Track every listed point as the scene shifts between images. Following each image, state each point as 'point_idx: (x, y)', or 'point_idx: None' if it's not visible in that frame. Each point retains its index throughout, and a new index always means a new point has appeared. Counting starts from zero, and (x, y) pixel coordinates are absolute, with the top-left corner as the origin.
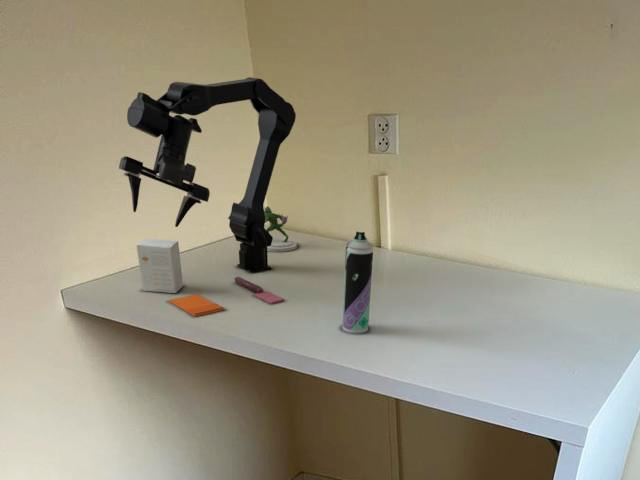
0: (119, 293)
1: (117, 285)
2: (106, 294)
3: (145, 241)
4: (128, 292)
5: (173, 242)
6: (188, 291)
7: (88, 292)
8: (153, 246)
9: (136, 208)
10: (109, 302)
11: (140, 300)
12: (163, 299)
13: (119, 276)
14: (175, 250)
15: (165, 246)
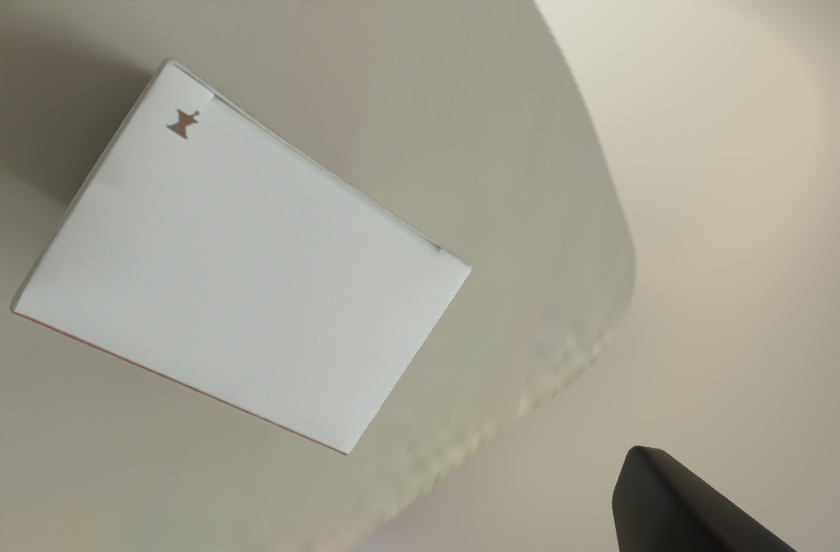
0: (471, 203)
1: (449, 330)
2: (528, 207)
3: (374, 352)
4: (427, 205)
5: (85, 253)
6: (58, 99)
7: (587, 260)
8: (340, 178)
9: (656, 472)
10: (548, 80)
11: (403, 45)
12: (271, 4)
13: (406, 466)
14: (90, 171)
15: (218, 122)
